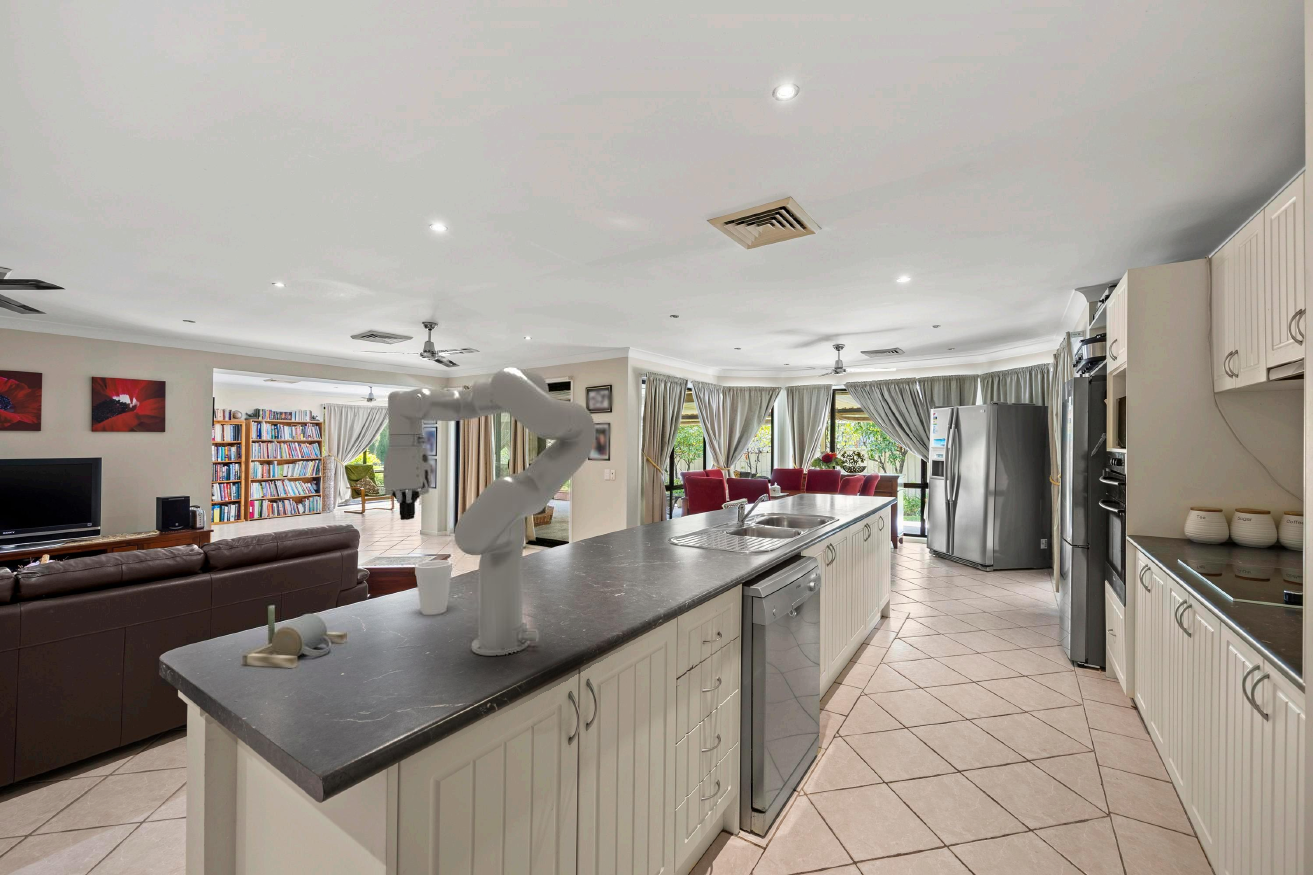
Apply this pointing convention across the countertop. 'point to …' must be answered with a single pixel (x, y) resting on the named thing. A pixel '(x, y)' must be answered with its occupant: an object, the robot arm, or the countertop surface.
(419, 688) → the countertop surface
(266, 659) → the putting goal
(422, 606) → the foam cup
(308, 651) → the ceramic mug
